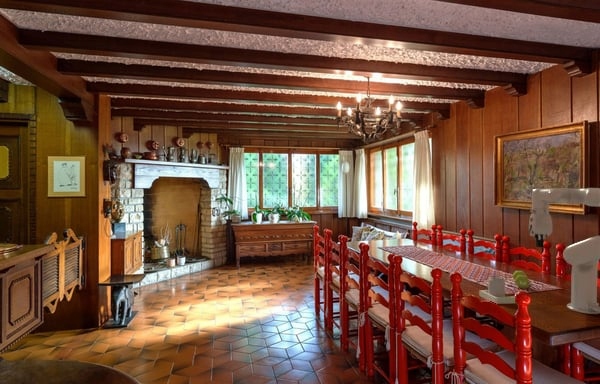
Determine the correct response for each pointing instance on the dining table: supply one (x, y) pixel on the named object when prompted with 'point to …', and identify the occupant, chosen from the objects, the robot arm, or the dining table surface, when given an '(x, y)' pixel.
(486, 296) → the pale green shallow tray
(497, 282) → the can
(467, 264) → the dining table surface
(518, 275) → the dumbbell
